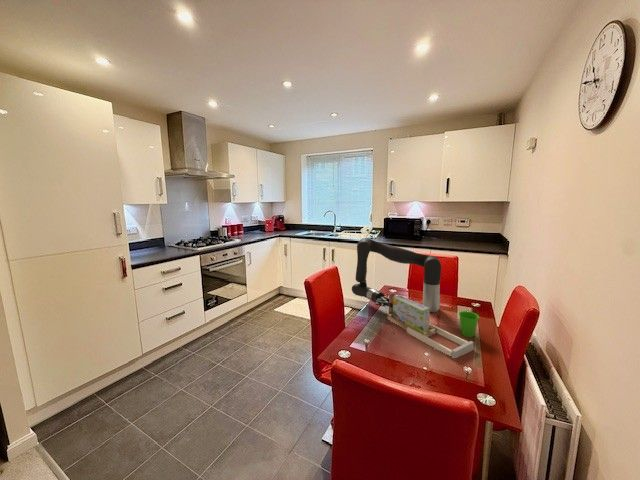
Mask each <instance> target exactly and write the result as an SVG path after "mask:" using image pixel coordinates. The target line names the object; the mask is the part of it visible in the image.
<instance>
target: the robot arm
mask: <svg viewBox="0 0 640 480" xmlns="http://www.w3.org/2000/svg"><path fill="white" fill-rule="evenodd" d="M370 252H371V253H376V254H379V255H381V256H383V257H384V258H385V259H388V260H389V261H391V262H396V263H399V264H403V265H404V264H406V265H408V264H410V265H416V266H419V267H421V268H423V272H424V273H423V283H422V284H423V286H422V287H423V289H422V290H423V291H422V305H423V306H426V307H428V308H430V313H437V312H439V310H440V305H441V293H440V290H441V288H440V286H441V278H442V277H441V276H442V264H441V263H442V262H441V261H440V259H439V258H438V257H436V256H434V255H427V254H422V253H418V252H415V251H412V250H409V249H406V248H402V247H398V246H394V245H390V244H386V243H382V242H379V241H376V240H374V239H370V238H368V237H363V238H361V239H360V240H359V242H358V243H357V244H356V254H357V259H356V262H357V263H356V269H355V270H356V271H355V281H356V282H357V283H355V284H354V285H352V287H351V292H352V293H353V294H354V295H355V296H359V297H363V298H366V299H367V300H370V301H371V302H373V303H374V304H375V305H376V306H380V307H388V308H389V307H391V308H393V304H392V303H390V302H389V296H387V295H385V294H384V292H382V291H379V290H377V289H375V288H371V287H368V285H367V284H368V283H367V272H368V268H367V267H368V264H367V263H368V258H369V255H370Z"/></svg>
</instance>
